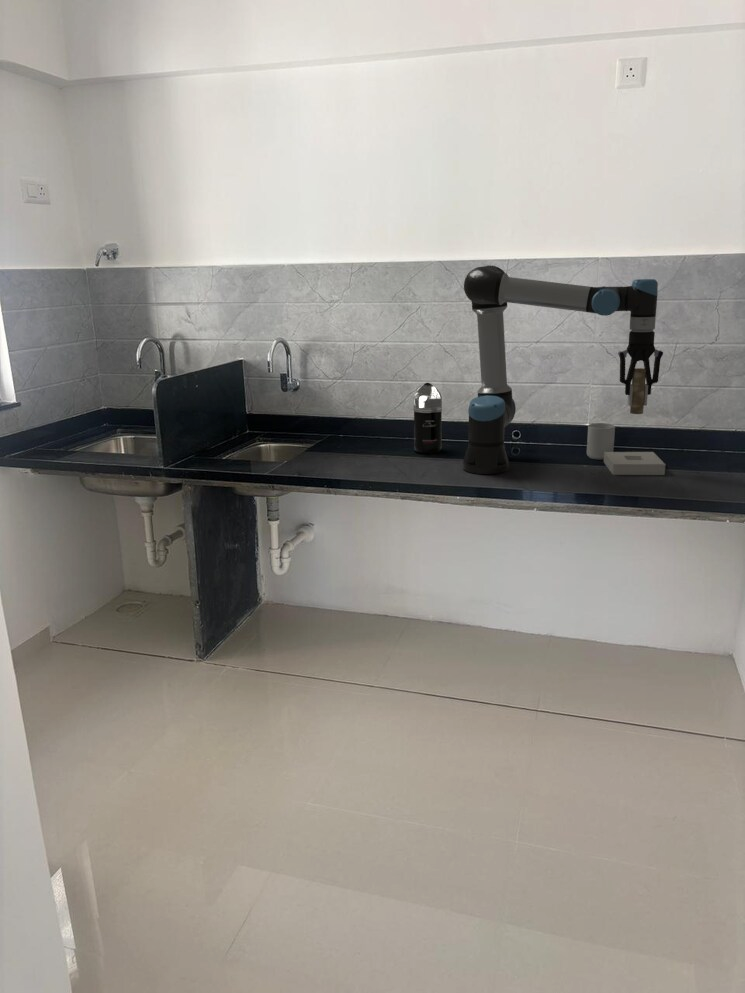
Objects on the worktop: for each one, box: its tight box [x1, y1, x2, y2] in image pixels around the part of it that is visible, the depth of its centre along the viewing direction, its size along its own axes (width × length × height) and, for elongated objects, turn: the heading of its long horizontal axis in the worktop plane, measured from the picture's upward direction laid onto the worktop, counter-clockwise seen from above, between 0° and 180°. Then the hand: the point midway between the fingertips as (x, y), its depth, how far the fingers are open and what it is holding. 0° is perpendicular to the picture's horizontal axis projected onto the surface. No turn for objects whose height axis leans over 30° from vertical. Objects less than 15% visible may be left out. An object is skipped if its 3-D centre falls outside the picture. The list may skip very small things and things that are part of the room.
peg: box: [629, 367, 646, 415], centre depth 248 cm, size 4×4×14 cm
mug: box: [586, 422, 616, 461], centre depth 271 cm, size 12×9×11 cm
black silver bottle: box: [413, 382, 443, 454], centre depth 281 cm, size 10×10×25 cm
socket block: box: [603, 451, 666, 476], centre depth 256 cm, size 16×16×4 cm
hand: (637, 404), depth 250 cm, fingers closed on peg, 4 cm apart
